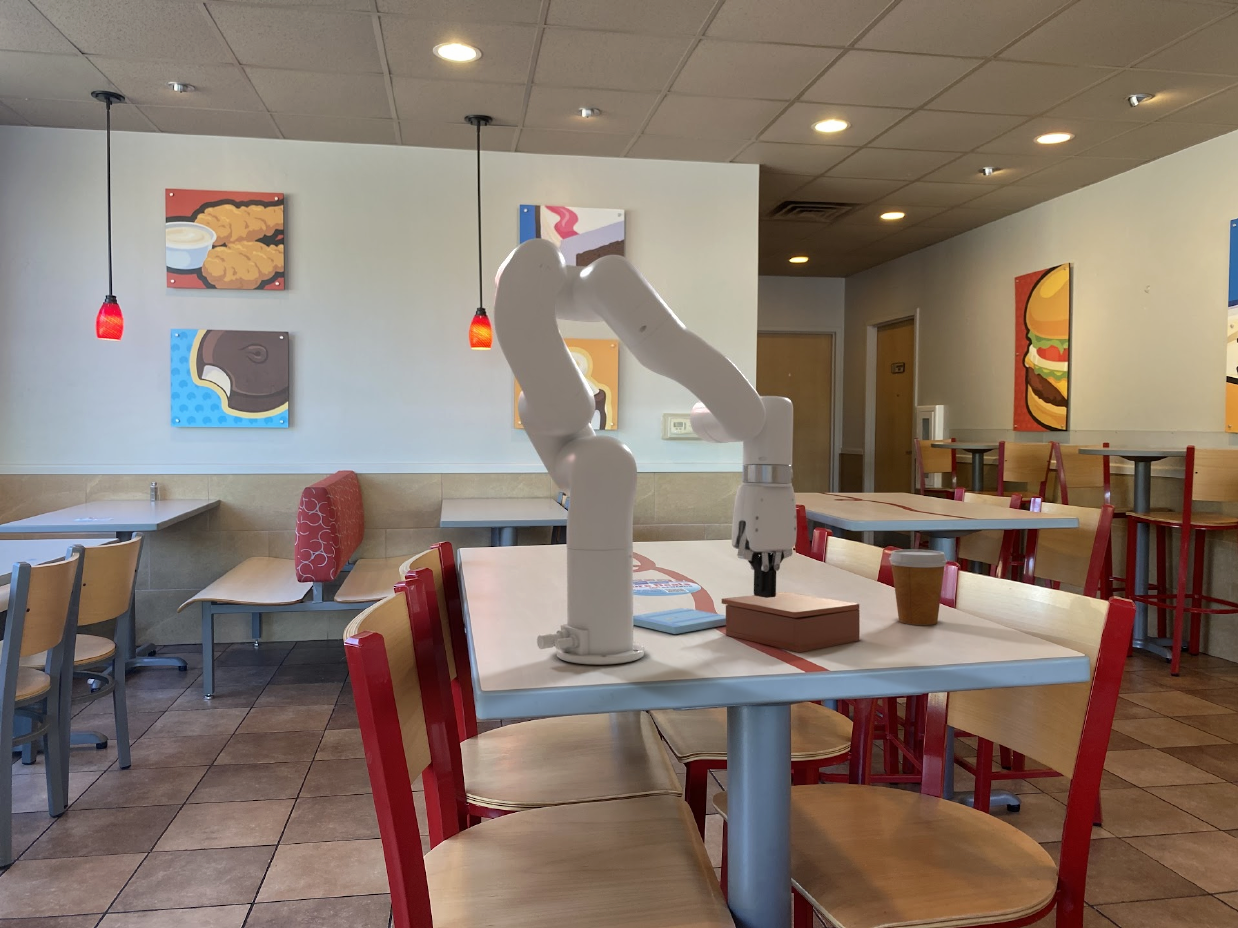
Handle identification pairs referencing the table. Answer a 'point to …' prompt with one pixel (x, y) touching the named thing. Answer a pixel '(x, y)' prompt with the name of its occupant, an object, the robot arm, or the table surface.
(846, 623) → the flip case
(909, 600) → the disposable coffee cup
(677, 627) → the light blue flat block
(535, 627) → the table surface
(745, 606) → the cover
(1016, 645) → the table surface
